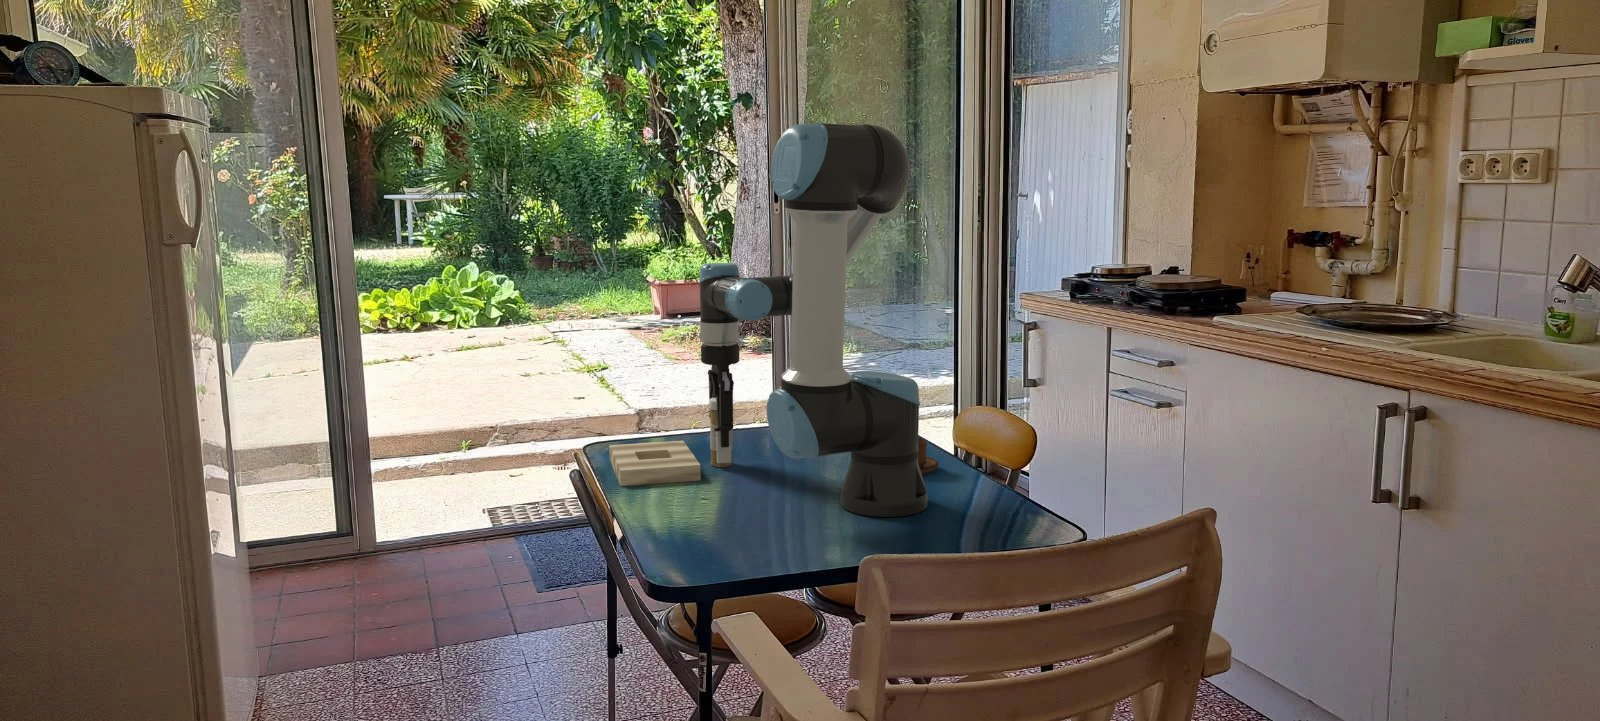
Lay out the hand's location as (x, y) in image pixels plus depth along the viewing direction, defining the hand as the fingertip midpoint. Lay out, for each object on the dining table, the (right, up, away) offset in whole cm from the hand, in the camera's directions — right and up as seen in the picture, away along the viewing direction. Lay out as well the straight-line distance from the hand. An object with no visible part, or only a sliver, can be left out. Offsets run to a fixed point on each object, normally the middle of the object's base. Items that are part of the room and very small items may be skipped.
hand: (721, 459), depth 219 cm
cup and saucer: (+36, -2, -4) cm, 37 cm away
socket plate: (-13, -2, -3) cm, 14 cm away
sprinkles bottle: (0, -1, 0) cm, 1 cm away
